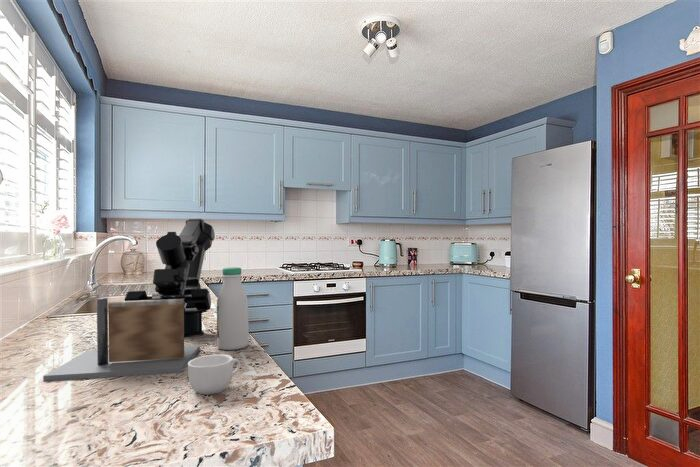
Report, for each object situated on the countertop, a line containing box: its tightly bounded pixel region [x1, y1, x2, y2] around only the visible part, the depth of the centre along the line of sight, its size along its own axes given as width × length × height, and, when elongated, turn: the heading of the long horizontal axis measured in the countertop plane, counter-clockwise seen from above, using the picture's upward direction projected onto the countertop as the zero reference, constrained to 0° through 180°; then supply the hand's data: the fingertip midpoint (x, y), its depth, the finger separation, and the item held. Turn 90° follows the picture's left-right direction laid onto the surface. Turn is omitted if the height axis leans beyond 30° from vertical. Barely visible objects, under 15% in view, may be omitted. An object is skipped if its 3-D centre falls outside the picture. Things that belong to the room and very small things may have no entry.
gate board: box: [42, 344, 201, 382], centre depth 93 cm, size 26×18×1 cm
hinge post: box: [96, 297, 109, 365], centre depth 89 cm, size 2×2×14 cm
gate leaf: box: [108, 299, 185, 362], centre depth 91 cm, size 15×2×13 cm, turn 98°
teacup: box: [187, 353, 241, 396], centre depth 76 cm, size 10×8×5 cm
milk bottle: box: [216, 266, 250, 351], centre depth 106 cm, size 8×8×20 cm
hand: (162, 330), depth 95 cm, fingers closed
